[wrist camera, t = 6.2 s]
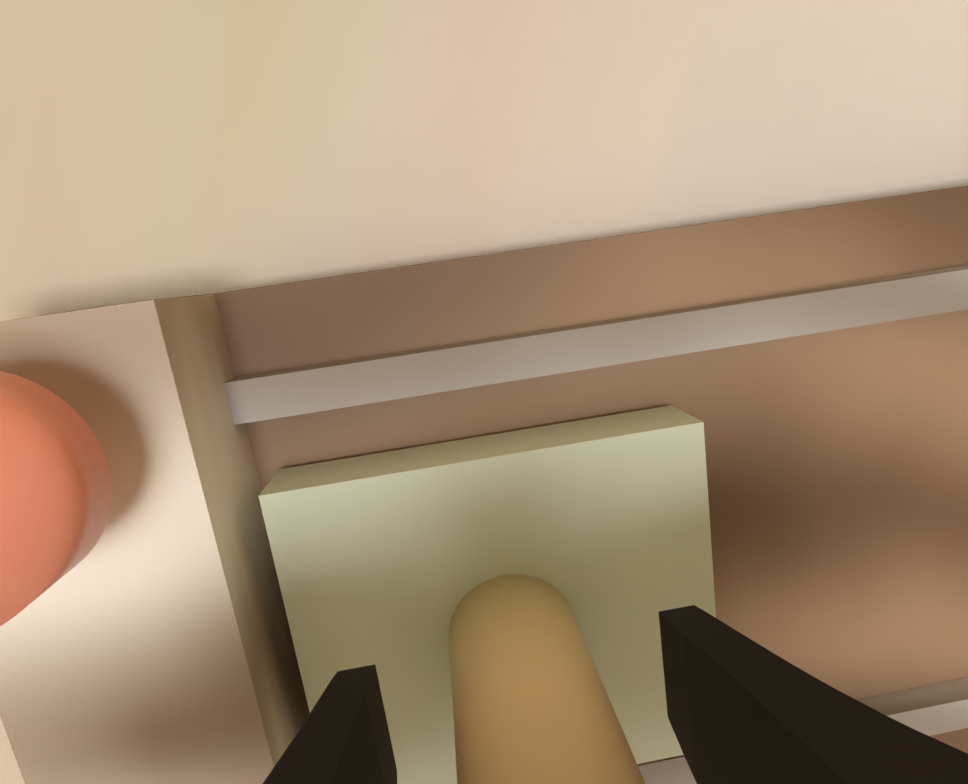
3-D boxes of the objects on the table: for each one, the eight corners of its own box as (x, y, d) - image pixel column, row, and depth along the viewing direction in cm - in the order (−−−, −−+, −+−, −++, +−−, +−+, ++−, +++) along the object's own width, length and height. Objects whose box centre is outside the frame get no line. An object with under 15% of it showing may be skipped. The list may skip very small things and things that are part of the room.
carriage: (694, 698, 13) (925, 1066, 7) (346, 767, 13) (270, 1226, 7) (671, 405, 12) (938, 548, 6) (278, 469, 11) (100, 702, 5)
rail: (1346, 643, 17) (1602, 747, 13) (198, 880, 15) (123, 1078, 11) (1447, 117, 14) (1812, 61, 10) (28, 321, 12) (-152, 342, 8)
